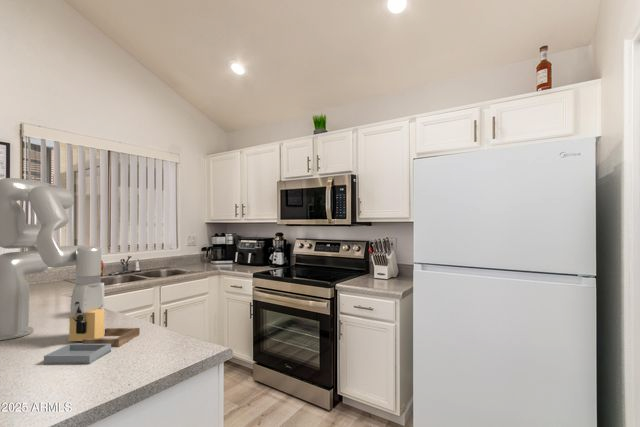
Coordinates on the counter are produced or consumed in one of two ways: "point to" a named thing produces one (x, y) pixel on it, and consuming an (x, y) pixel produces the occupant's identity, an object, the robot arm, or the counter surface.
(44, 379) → the counter surface
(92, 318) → the yellow block
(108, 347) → the grey tray
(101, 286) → the skincare box
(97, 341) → the walnut bay
